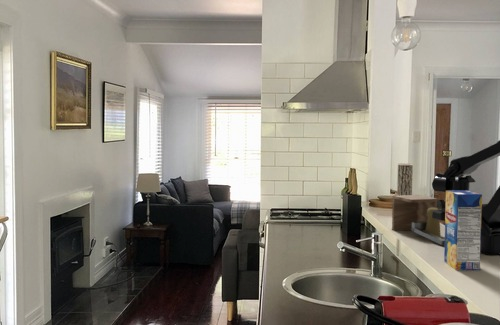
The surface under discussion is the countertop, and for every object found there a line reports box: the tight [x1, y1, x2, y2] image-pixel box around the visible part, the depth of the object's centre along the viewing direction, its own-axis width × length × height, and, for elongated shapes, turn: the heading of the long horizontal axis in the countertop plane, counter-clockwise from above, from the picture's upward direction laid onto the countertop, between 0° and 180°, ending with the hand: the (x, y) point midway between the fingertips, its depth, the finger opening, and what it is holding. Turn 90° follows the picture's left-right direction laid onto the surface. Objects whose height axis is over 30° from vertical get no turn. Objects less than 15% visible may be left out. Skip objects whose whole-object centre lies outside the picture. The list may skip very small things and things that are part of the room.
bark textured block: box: [396, 162, 414, 196], centre depth 257 cm, size 7×7×25 cm
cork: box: [425, 208, 442, 238], centre depth 205 cm, size 6×6×11 cm
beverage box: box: [443, 190, 483, 271], centre depth 160 cm, size 7×11×22 cm, turn 177°
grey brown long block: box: [410, 221, 445, 246], centre depth 197 cm, size 23×9×8 cm, turn 16°
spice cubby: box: [391, 194, 439, 231], centre depth 215 cm, size 14×12×14 cm
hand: (458, 238), depth 189 cm, fingers closed on grey brown long block, 4 cm apart
